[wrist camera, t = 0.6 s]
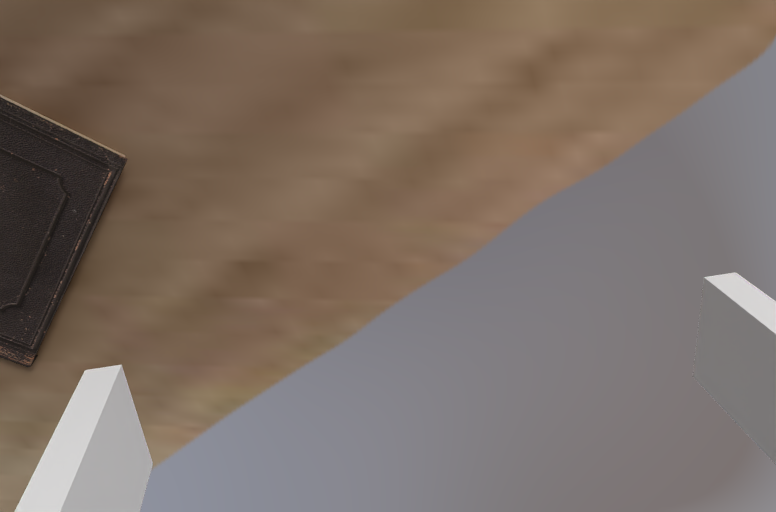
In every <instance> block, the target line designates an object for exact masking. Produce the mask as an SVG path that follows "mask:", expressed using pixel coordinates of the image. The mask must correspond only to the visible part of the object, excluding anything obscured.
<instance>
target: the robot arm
mask: <svg viewBox="0 0 776 512" xmlns="http://www.w3.org/2000/svg"><path fill="white" fill-rule="evenodd" d="M693 377H694V379H695V380H696V381H697V382H698V383H699V384H700V385H701V386H702V387H703V388H704V389H705V390H706V391H707V392H708V394H709V395H710V396H711V397H712V398H713V399H714V400H715V401H716V402H717V403H718V404H719V405H720V406H721V407H722V408H723V410H724V411H725V412H726V413H727V414H728V415H729V416H730V417H731V418H732V419H733V420H734V421H735V422H736V423H737V424H738V425H739V426H740V427H741V429H742V430H743V431H744V432H745V433H746V434H747V435H748V436H749V437H750V438H751V439H752V440H753V441H754V443H755V444H756V445H757V446H758V447H759V448H760V449H761V450H762V451H763V452H764V453H765V454H766V455H767V456H768V457H769V458H770V460H772V462H773V463H774V464H775V465H776V302H775V301H774V300H773V299H771V298H770V297H769V296H767V295H766V294H765V293H763V292H762V291H761V290H759V289H758V288H756V287H755V286H754V285H752V284H751V283H749V282H748V281H747V280H745V279H744V278H743V277H741V276H740V275H738V274H737V273H730V274H723V275H716V276H709V277H704V283H703V291H702V300H701V309H700V317H699V327H698V334H697V343H696V352H695V361H694V369H693ZM152 465H153V463H152V459H151V456H150V453H149V450H148V447H147V444H146V440H145V437H144V434H143V431H142V428H141V425H140V421H139V418H138V415H137V412H136V409H135V406H134V402H133V399H132V396H131V393H130V390H129V387H128V384H127V380H126V377H125V374H124V371H123V368H122V365H116V366H109V367H103V368H96V369H89V370H85V371H84V373H83V375H82V377H81V379H80V381H79V383H78V385H77V387H76V389H75V391H74V393H73V395H72V397H71V399H70V401H69V403H68V405H67V407H66V409H65V411H64V413H63V415H62V417H61V419H60V421H59V423H58V425H57V427H56V429H55V432H54V434H53V436H52V438H51V440H50V442H49V444H48V446H47V448H46V450H45V452H44V454H43V456H42V458H41V460H40V462H39V464H38V466H37V468H36V470H35V472H34V474H33V476H32V478H31V480H30V482H29V484H28V486H27V488H26V490H25V492H24V494H23V496H22V498H21V500H20V502H19V504H18V506H17V508H16V510H15V512H140V509H141V505H142V501H143V498H144V494H145V491H146V487H147V483H148V480H149V476H150V472H151V469H152Z"/></svg>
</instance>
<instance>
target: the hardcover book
mask: <svg viewBox="0 0 776 512" xmlns="http://www.w3.org/2000/svg"><path fill="white" fill-rule="evenodd" d="M125 157H126V155H124V154H121V153H119V152H117V151H115V150H113V149H111V148H109V147H107V146H105V145H103V144H101V143H99V142H97V141H95V140H93V139H91V138H89V137H87V136H85V135H82V134H80V133H78V132H76V131H74V130H72V129H70V128H68V127H66V126H64V125H62V124H60V123H58V122H56V121H54V120H52V119H50V118H48V117H46V116H43V115H41V114H39V113H37V112H35V111H33V110H31V109H29V108H27V107H25V106H23V105H21V104H19V103H17V102H15V101H13V100H11V99H9V98H7V97H4V96H2V95H0V357H1V358H4V359H7V360H10V361H12V362H15V363H18V364H20V365H23V366H26V367H31V365H32V364H33V362H34V361H35V359H36V357H37V356H38V355H36V353H37V351H38V349H39V347H40V345H41V343H42V341H43V338H44V336H45V334H46V332H47V330H48V328H49V326H50V323H51V321H52V319H53V317H54V315H55V313H56V311H57V309H58V306H59V304H60V302H61V300H62V298H63V296H64V294H65V291H66V289H67V287H68V285H69V283H70V281H71V279H72V277H73V274H74V272H75V270H76V268H77V266H78V264H79V262H80V259H81V257H82V255H83V253H84V251H85V249H86V247H87V244H88V242H89V240H90V238H91V236H92V234H93V232H94V230H95V227H96V225H97V223H98V221H99V219H100V217H101V215H102V212H103V210H104V208H105V206H106V204H107V202H108V200H109V198H110V195H111V193H112V191H113V189H114V187H115V185H116V183H117V180H118V178H119V176H120V174H121V172H122V170H123V168H124V166H125V163H126V161H127V158H125Z"/></svg>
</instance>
